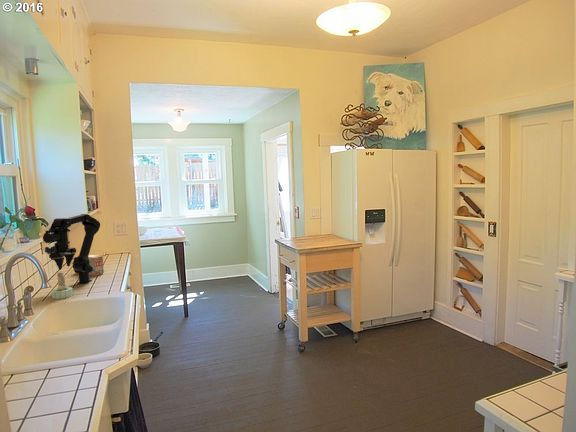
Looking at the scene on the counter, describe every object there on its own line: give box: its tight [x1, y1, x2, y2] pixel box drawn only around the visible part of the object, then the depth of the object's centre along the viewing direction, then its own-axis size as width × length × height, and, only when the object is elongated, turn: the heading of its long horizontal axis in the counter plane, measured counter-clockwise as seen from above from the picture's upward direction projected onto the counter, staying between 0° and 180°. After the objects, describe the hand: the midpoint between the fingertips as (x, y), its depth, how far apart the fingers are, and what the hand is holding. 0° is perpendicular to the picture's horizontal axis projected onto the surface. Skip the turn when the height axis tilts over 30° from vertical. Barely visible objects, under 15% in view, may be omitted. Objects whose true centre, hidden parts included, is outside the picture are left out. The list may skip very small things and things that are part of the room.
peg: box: [56, 271, 67, 291], centre depth 200 cm, size 3×3×12 cm
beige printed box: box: [88, 254, 105, 277], centre depth 255 cm, size 21×6×12 cm, turn 60°
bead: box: [51, 286, 74, 300], centre depth 200 cm, size 9×9×4 cm
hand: (64, 267), depth 215 cm, fingers open, 9 cm apart
